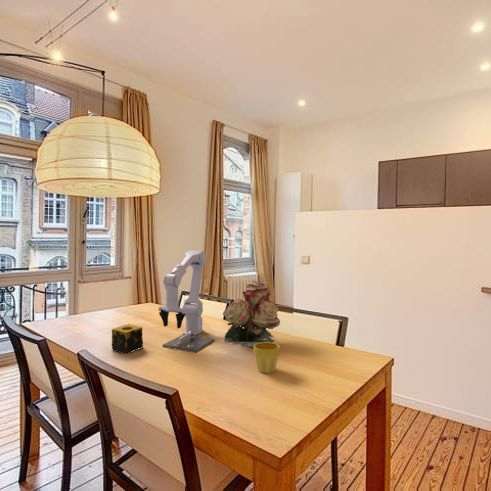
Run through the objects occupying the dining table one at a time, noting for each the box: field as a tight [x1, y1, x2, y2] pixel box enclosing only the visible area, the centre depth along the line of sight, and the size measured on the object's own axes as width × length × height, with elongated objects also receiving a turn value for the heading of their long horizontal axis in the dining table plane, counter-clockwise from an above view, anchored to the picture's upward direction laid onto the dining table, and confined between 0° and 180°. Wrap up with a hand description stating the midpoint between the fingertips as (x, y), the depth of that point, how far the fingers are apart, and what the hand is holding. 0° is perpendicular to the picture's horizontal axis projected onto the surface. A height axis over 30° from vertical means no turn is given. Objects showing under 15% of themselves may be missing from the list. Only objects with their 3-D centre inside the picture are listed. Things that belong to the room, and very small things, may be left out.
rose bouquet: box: [222, 280, 281, 348], centre depth 177 cm, size 26×29×30 cm
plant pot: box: [253, 342, 281, 374], centre depth 140 cm, size 10×10×10 cm
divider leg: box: [178, 331, 195, 345], centre depth 172 cm, size 14×3×3 cm, turn 163°
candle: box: [111, 323, 144, 354], centre depth 164 cm, size 10×10×10 cm
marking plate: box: [162, 334, 215, 353], centre depth 172 cm, size 18×18×2 cm
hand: (172, 326), depth 171 cm, fingers open, 7 cm apart
